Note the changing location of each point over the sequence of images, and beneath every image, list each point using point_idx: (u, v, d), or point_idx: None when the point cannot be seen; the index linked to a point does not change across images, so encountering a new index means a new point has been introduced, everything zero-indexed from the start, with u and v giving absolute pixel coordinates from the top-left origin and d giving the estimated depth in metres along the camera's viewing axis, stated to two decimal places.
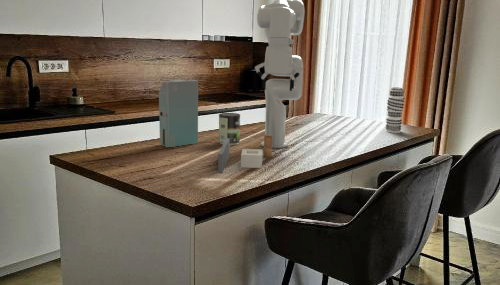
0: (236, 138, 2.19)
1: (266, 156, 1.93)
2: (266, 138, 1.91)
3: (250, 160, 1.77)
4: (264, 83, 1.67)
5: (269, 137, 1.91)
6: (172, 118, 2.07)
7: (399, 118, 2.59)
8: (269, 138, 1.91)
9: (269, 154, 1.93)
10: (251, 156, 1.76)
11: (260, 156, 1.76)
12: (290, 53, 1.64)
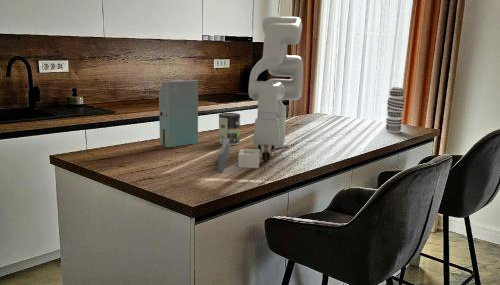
0: (236, 138, 2.19)
1: None
2: None
3: (248, 160, 1.77)
4: (264, 156, 1.79)
5: None
6: (172, 118, 2.07)
7: (399, 118, 2.59)
8: None
9: None
10: (248, 156, 1.76)
11: (257, 156, 1.76)
12: (277, 126, 1.76)
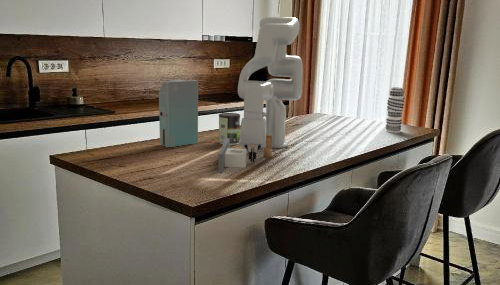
0: (236, 138, 2.19)
1: (266, 156, 1.93)
2: (266, 138, 1.91)
3: (234, 160, 1.77)
4: (251, 156, 1.80)
5: (269, 137, 1.91)
6: (172, 118, 2.07)
7: (399, 118, 2.59)
8: (269, 138, 1.91)
9: (269, 154, 1.93)
10: (235, 155, 1.77)
11: (244, 155, 1.76)
12: (263, 125, 1.77)
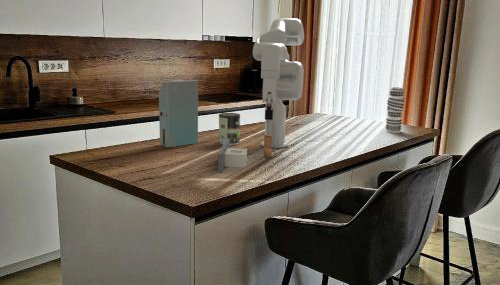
0: (236, 138, 2.19)
1: (266, 156, 1.93)
2: (266, 138, 1.91)
3: (234, 160, 1.77)
4: (272, 113, 1.87)
5: (269, 137, 1.91)
6: (172, 118, 2.07)
7: (399, 118, 2.59)
8: (269, 138, 1.91)
9: (269, 154, 1.93)
10: (235, 155, 1.77)
11: (244, 155, 1.76)
12: None
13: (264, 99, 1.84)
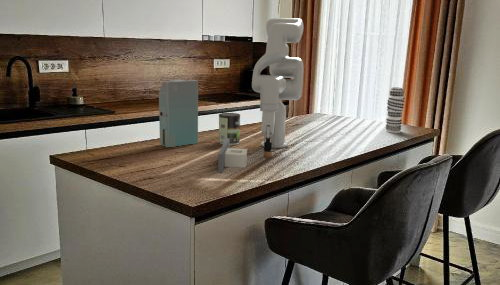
0: (236, 138, 2.19)
1: (266, 156, 1.93)
2: None
3: (234, 160, 1.77)
4: (271, 145, 1.91)
5: None
6: (172, 118, 2.07)
7: (399, 118, 2.59)
8: None
9: (269, 154, 1.93)
10: (235, 155, 1.77)
11: (244, 155, 1.76)
12: None
13: (263, 132, 1.87)
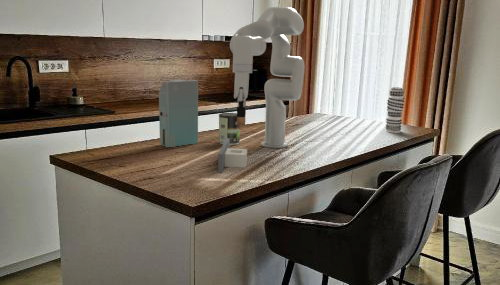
0: (236, 138, 2.19)
1: (239, 122, 1.79)
2: None
3: (234, 160, 1.77)
4: None
5: None
6: (172, 118, 2.07)
7: (399, 118, 2.59)
8: None
9: (243, 120, 1.79)
10: (235, 155, 1.77)
11: (244, 155, 1.76)
12: None
13: (235, 95, 1.73)
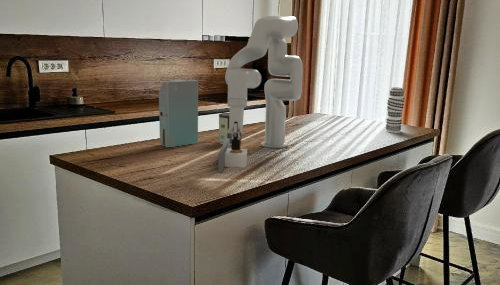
0: None
1: None
2: None
3: (234, 160, 1.77)
4: (239, 143, 1.76)
5: None
6: (172, 118, 2.07)
7: (399, 118, 2.59)
8: None
9: None
10: (235, 155, 1.77)
11: (244, 155, 1.76)
12: None
13: (230, 129, 1.74)
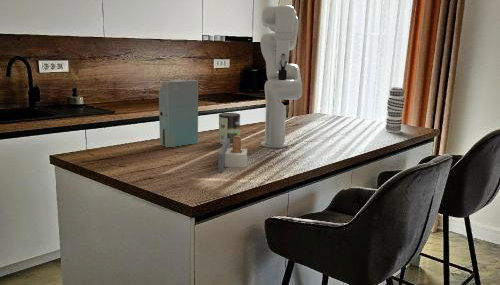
0: None
1: None
2: (235, 139, 1.79)
3: (234, 160, 1.77)
4: (286, 74, 1.86)
5: (238, 138, 1.79)
6: (172, 118, 2.07)
7: (399, 118, 2.59)
8: (238, 139, 1.79)
9: None
10: (235, 155, 1.77)
11: (244, 155, 1.76)
12: None
13: (278, 61, 1.85)
